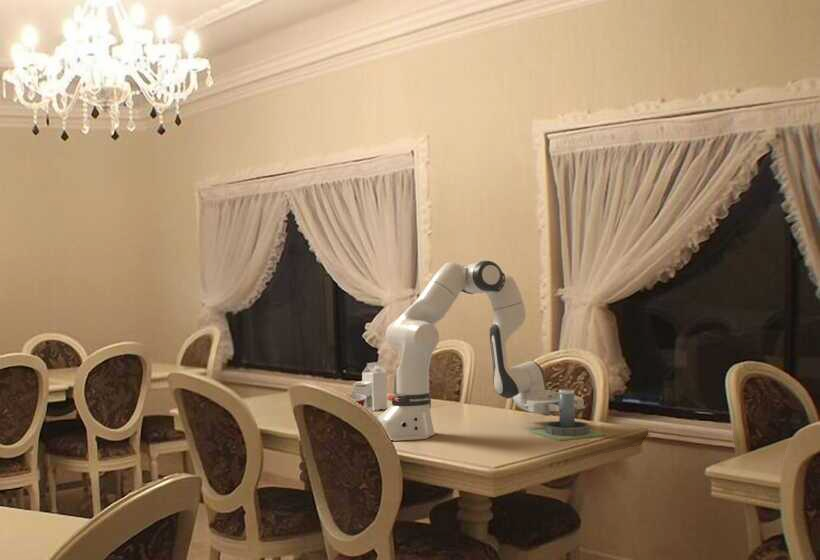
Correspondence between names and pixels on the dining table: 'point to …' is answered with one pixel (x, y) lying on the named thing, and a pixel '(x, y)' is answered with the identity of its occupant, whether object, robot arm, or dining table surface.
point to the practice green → (567, 431)
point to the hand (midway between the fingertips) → (568, 407)
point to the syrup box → (364, 392)
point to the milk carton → (376, 384)
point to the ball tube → (566, 408)
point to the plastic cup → (358, 398)
